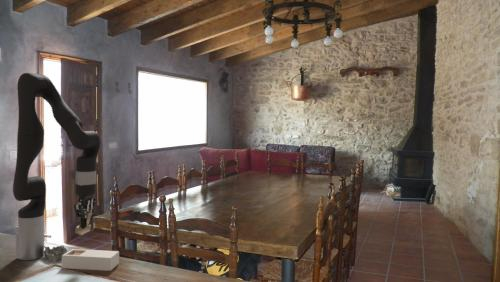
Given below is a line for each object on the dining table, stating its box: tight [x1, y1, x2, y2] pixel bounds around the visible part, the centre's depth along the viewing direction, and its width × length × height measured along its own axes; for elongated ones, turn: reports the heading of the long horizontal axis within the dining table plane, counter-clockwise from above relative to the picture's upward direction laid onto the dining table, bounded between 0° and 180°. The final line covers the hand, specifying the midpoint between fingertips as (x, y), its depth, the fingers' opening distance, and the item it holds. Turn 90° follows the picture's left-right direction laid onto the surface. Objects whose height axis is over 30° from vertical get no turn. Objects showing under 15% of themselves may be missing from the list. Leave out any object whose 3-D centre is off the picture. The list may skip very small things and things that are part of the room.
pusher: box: [74, 211, 93, 236], centre depth 149 cm, size 3×6×8 cm, turn 175°
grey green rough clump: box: [43, 245, 68, 262], centre depth 158 cm, size 11×8×4 cm
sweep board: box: [61, 248, 120, 272], centre depth 149 cm, size 20×8×5 cm, turn 85°
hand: (85, 225), depth 149 cm, fingers closed on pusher, 2 cm apart
